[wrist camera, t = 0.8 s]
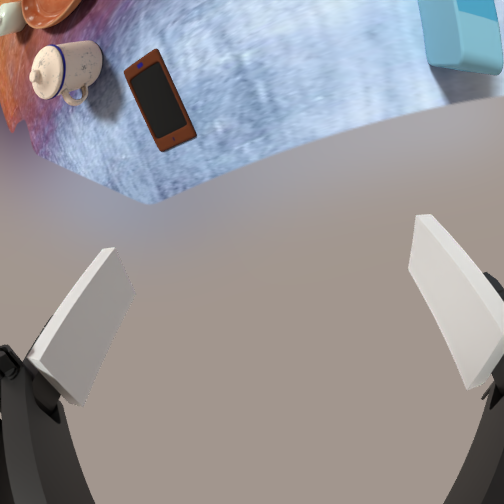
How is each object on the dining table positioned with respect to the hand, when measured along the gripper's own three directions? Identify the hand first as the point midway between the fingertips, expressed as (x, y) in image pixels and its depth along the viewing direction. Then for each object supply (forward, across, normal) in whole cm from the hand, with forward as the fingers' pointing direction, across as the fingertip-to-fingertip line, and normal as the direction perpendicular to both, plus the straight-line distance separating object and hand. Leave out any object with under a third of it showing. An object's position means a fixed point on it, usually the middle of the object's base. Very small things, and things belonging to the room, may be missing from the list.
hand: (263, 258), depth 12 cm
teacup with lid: (+35, -27, +18) cm, 47 cm away
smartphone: (+32, -15, +8) cm, 36 cm away
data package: (+22, +22, +15) cm, 35 cm away
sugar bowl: (+38, -46, +42) cm, 73 cm away
